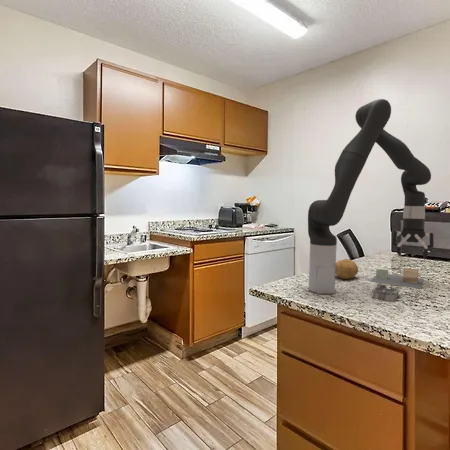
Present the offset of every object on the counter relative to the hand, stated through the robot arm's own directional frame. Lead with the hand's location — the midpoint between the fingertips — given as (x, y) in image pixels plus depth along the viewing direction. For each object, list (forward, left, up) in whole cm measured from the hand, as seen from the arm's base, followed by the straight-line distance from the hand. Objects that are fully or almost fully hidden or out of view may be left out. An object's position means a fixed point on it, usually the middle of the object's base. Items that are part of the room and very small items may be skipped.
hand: (411, 256), depth 125 cm
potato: (+5, +25, -11) cm, 28 cm away
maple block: (0, 0, -10) cm, 10 cm away
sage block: (+6, +9, -10) cm, 15 cm away
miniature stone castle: (-20, +20, -11) cm, 31 cm away
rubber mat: (+2, +4, -11) cm, 12 cm away
